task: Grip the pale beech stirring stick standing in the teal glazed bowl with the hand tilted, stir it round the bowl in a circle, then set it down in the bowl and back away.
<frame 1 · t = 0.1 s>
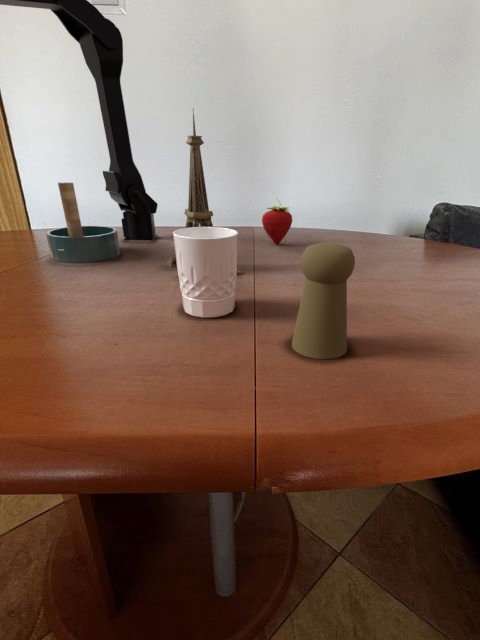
bowl: (87, 257, 73), on the table
cork: (318, 347, 41), on the table
stick: (80, 257, 71), resting on bowl
eiffel tower: (201, 271, 67), on the table
strawberry: (276, 244, 88), on the table
white cup: (209, 310, 51), on the table
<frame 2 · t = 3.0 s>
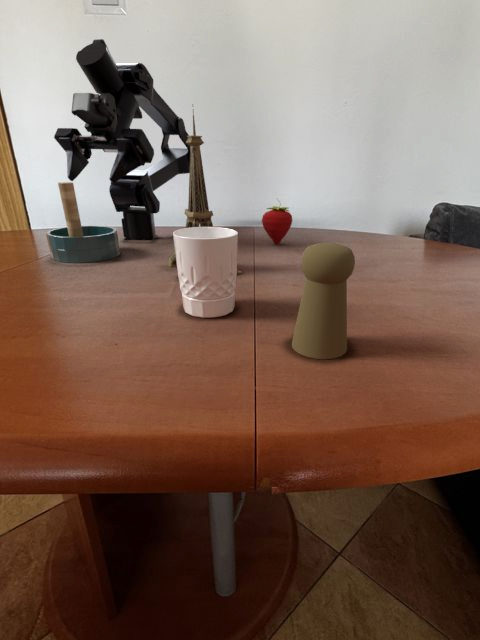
hand: (90, 180, 71), 14 cm above the table, tool tilted 45°, fingers open, 9 cm apart
nothing on the table moved.
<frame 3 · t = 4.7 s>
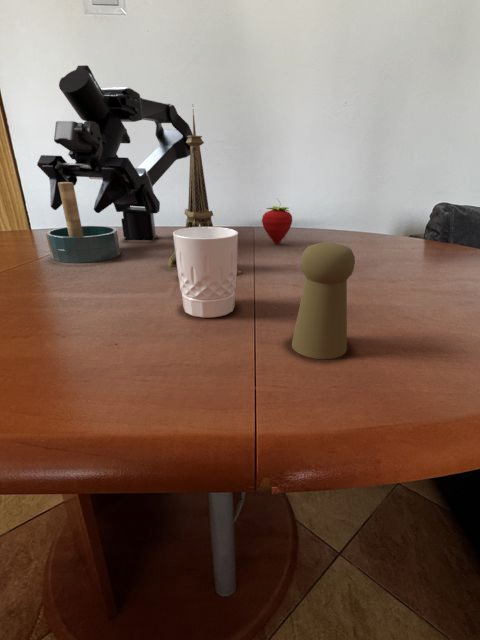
hand: (74, 209, 68), 9 cm above the table, tool tilted 45°, fingers open, 9 cm apart
nothing on the table moved.
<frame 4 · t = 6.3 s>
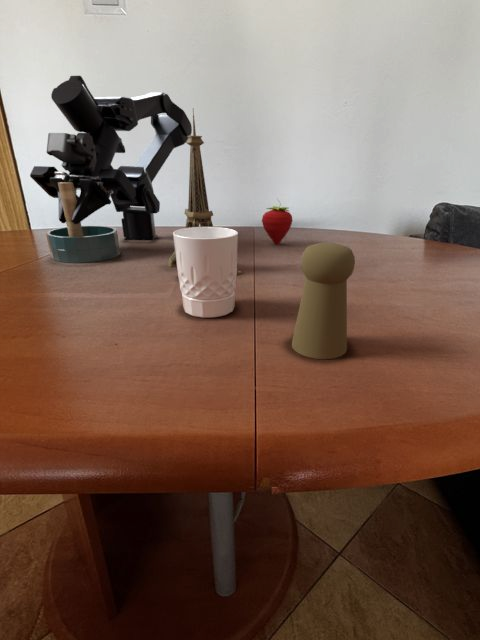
hand: (67, 222, 67), 7 cm above the table, tool tilted 45°, fingers closed on stick, 2 cm apart
stick: (80, 257, 71), point 1 cm above the table, touching bowl, gripper
everything else where it was.
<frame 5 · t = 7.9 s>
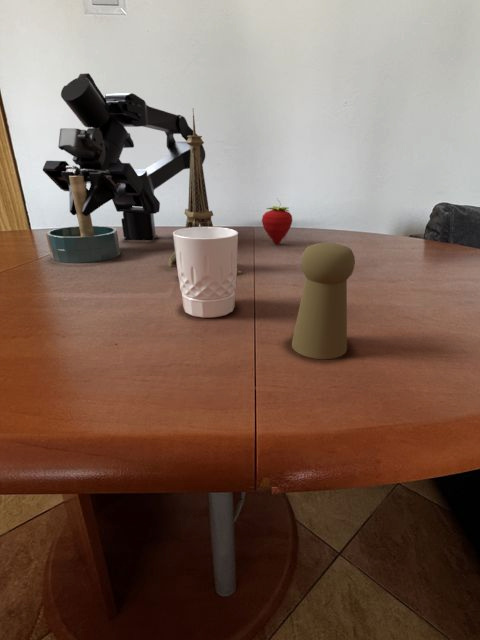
hand: (78, 214, 70), 8 cm above the table, tool tilted 45°, fingers closed on stick, 2 cm apart
stick: (90, 248, 75), point 1 cm above the table, touching gripper
everything else where it was.
when the fingers open (7 cm above the table, at t = 9.9 s): stick stays where it is, resting on bowl.
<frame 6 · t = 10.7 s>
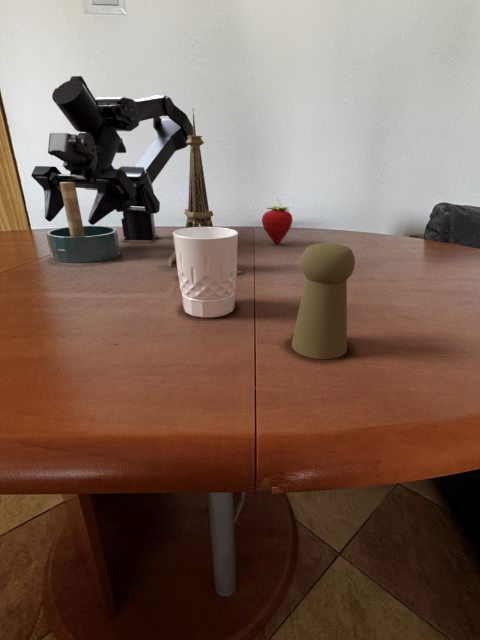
hand: (68, 221, 68), 7 cm above the table, tool tilted 45°, fingers open, 9 cm apart
stick: (81, 256, 72), resting on bowl
everything else where it was.
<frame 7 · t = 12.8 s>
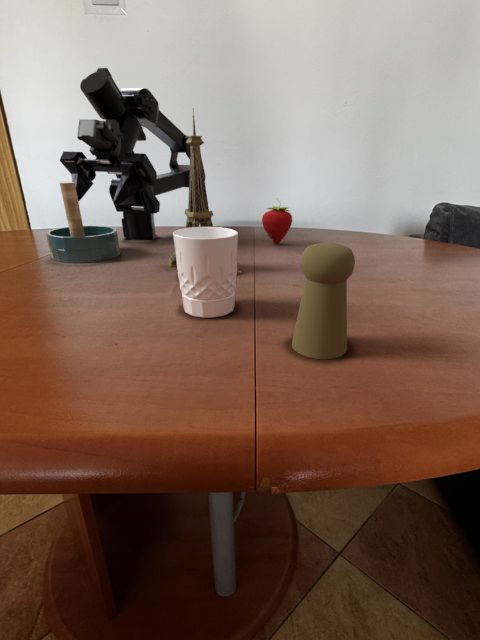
hand: (94, 202, 73), 10 cm above the table, tool tilted 45°, fingers open, 9 cm apart
nothing on the table moved.
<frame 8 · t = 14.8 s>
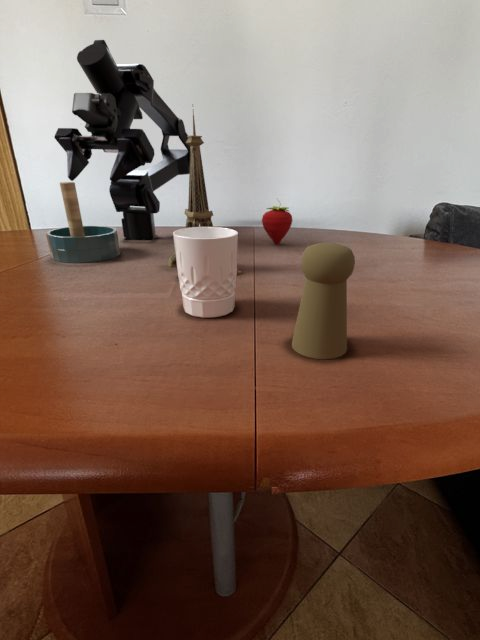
hand: (90, 180, 71), 14 cm above the table, tool tilted 45°, fingers open, 9 cm apart
nothing on the table moved.
at the end: stick inside the target area in the bowl (1.5 cm from its centre), point 0.5 cm above the bowl's base; stick tilted 0°; white cup moved 0.2 cm from its start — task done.
